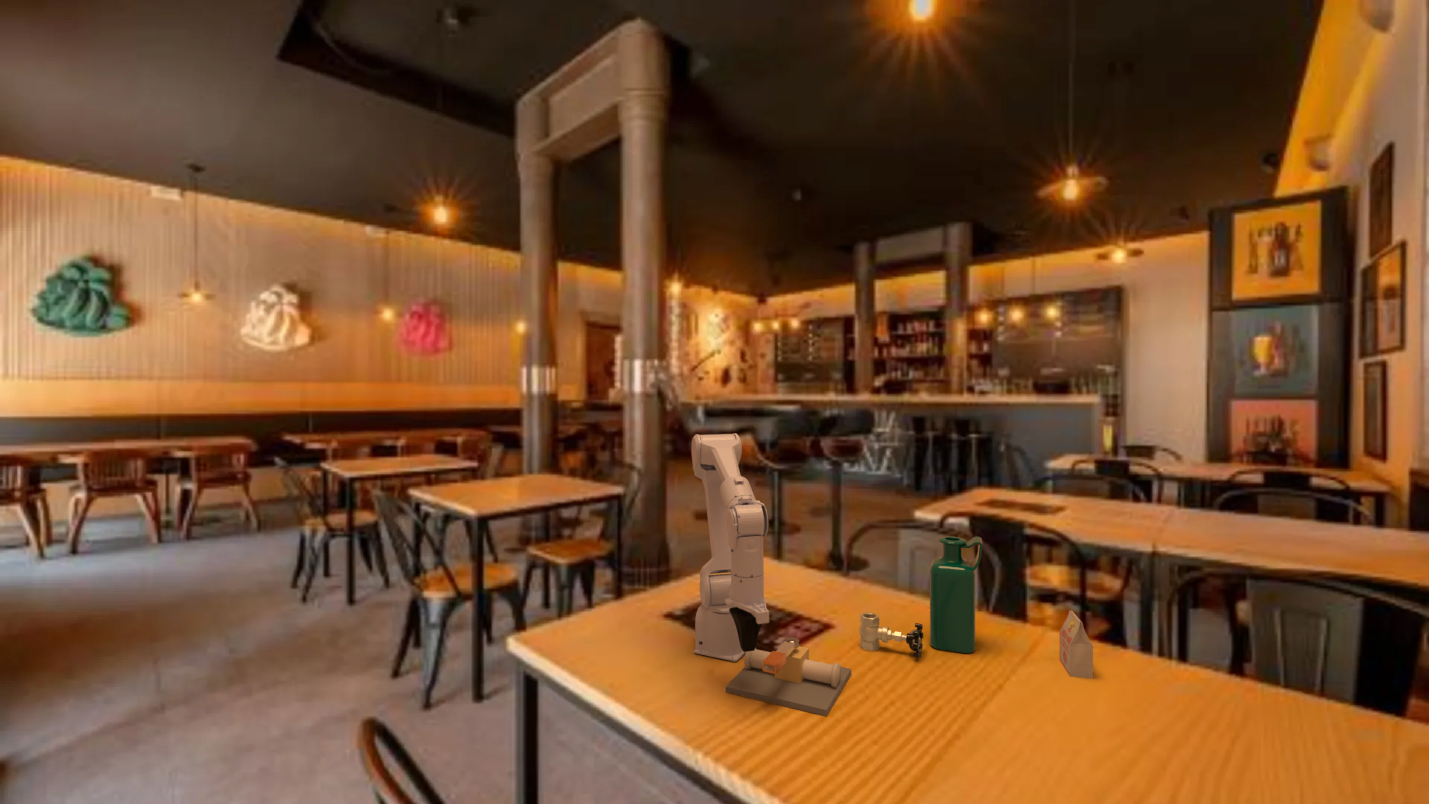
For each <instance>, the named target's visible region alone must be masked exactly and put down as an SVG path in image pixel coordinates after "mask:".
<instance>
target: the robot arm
mask: <svg viewBox="0 0 1429 804" xmlns="http://www.w3.org/2000/svg"><path fill="white" fill-rule="evenodd" d="M742 446H743V445H742V440H741V437H740V436H739V434H737V433H734V432H733V433H721V434H695V435H694V436H693V437H692V439H691V460H692V471H693V472H694V473H693V474H694V477H696V478H698V479H700V480H702V485H703V488H704V495H705V505H706V515H707V523H708V524H707V525H708V532H709V533H708V536H709V542H710V543H709V544H710V545H709V546H710V553H711V558H710V559H709V560H708V561H707V562H706V563H705V564H704V565H703V566H702V567H701V569H700V572H699V596H700V600H701V604H700V605H699V607H698V608H697V610H696V615H695V621H694V622H695V623H694V624H695V625H694V629H695V630H694V633H695V634H694V635H695V649H694V650H693V653H694V654H695V655H696V654H697V655H701V656H702V655H703V656H707V657H711V658H716V659H720V660H721V659H722V660H725V661H731V662H738V661H739V660H740V659H741V658H742V657H743V656H745V653H746V652H749V651H754V650H755V648H757V647H756V646H757V643H758V642H757V641H758V638H759V635H760V630H761V628H762V626H763V624H769V623H770V611H769V610H768V608H767V603H766V597H765V595H764V593H765V592H764V591H765V587H764V585H765V584H764V583H765V580H764V578H765V575H764V572H765V571H764V569H765V568H764V537H766V536H767V535H768V531H769V516H768V510H767V508H766V505H765V503H763V502H761V501H760V500H757V499H756V497H755V494H754V492H753V489H752V487H751V484H750V482H749V480H748V479H747V478H746V477H745V476H742V475H741V472H740V468H739V464H740V461H741V458H742V454H743V453H742V452H743V447H742Z"/></svg>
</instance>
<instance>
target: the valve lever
mask: <svg viewBox="0 0 1429 804" xmlns="http://www.w3.org/2000/svg"><path fill="white" fill-rule="evenodd" d="M799 646H800V639H799V638H798V637H795V636H787V637H785V638H784V642H783V643H782V644H780V646H779V647H778V648H777V649H776V650H772V651H771V653H770V654H769V655H768V656H767V657H766V658H765V660H764V661H763V671H764V672H768V673H773V674H777V673H778V672H779V670H780V669H781V668H782V667H783V666H784V664H785V663H786V658H787V657H788V656H789V655H790V653H791V652H792V651H795V650H796V648H798V647H799Z"/></svg>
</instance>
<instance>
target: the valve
mask: <svg viewBox="0 0 1429 804" xmlns="http://www.w3.org/2000/svg"><path fill="white" fill-rule="evenodd" d="M923 627H924V625H923V624H922V623H918V622H915V624H914V628H916V629H912V630H911V631H910V632H907V633H906V635H905V634H903V632H901V631H894V632H893V631H892V630H891V629H890V627H889V626H882V627H880V616H879V615H878V614H877V613H873V612H863V613H861V614H860V625H859V629H858V631H859V632H858V633H859V636H860V647H861V648H862V650H865V651H870V652H875V651H879V650H880V641H881V642H883V643H887V644H888V643H889V641H892V640H893V641H894V642H900V643H902V642H903V641H905V642H906V644H907V645H908V647H909V649H910V650H911V651H913V652H912V656H913V657H915V658H921V657H922V650H923V647H924V646H923V639H924V632H923Z"/></svg>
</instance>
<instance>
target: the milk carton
mask: <svg viewBox="0 0 1429 804" xmlns="http://www.w3.org/2000/svg"><path fill="white" fill-rule="evenodd" d="M1059 662H1060V663H1061V665H1062V666H1063V668H1064V670H1065V671H1066V672H1067V674H1068V676H1069V677H1074V678H1082V679H1092V680H1093V679H1094V646H1093V644H1092V642H1091V640H1090V638H1089V636H1088V634H1087V632H1086V629H1085V628H1084V623H1083V621H1081V619H1080V618H1079V617H1078V616H1077V615H1076V614H1075V612H1074V611H1073V610H1072V609H1071V610H1070V609H1069V610H1068V613H1067V615H1066V618H1065V619H1064V621H1063V623H1062V625H1061V627H1060V629H1059Z"/></svg>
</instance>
